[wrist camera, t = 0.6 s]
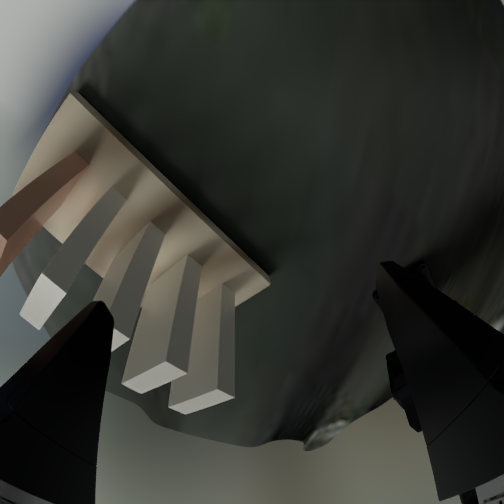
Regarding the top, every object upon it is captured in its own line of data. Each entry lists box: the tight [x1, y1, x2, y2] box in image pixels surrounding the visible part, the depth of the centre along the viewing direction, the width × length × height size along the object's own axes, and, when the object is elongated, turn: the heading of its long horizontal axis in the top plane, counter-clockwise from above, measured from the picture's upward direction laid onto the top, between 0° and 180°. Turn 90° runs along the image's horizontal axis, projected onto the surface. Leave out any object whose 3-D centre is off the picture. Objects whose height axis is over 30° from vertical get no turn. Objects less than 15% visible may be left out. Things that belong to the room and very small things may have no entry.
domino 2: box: [20, 186, 127, 330], centre depth 16 cm, size 2×5×10 cm, turn 130°
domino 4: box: [122, 254, 202, 394], centre depth 20 cm, size 2×5×10 cm, turn 130°
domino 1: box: [0, 151, 89, 276], centre depth 14 cm, size 2×5×10 cm, turn 130°
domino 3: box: [93, 221, 165, 352], centre depth 18 cm, size 2×5×10 cm, turn 130°
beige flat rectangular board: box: [12, 92, 271, 308], centre depth 22 cm, size 22×11×1 cm, turn 40°
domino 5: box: [168, 283, 235, 414], centre depth 22 cm, size 2×5×10 cm, turn 130°
